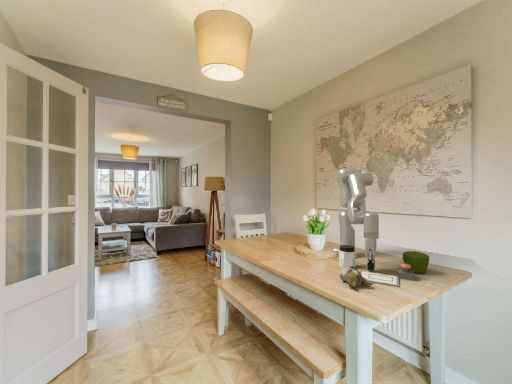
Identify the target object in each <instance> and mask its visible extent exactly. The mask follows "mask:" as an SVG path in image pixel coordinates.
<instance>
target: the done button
mask: <svg viewBox="0 0 512 384" xmlns="http://www.w3.org/2000/svg"><path fill="white" fill-rule="evenodd" d="M400 269H404V272H407V273H408V269H411V265H410V264H404V262H402V263H400Z"/></svg>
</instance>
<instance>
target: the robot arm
mask: <svg viewBox="0 0 512 384" xmlns="http://www.w3.org/2000/svg"><path fill="white" fill-rule="evenodd" d="M336 180H337V184H338V187H339V199H340V200H339V202H340V206H341V207H342V208H344V209H342V210H341V211H339V212H338V220H339V221H338V222H339V246H340V245H351V246H354V247H355V248H356V230H355V228H354V227H353V225H363V238H364V239H365V242H364V257H367V263H366V264H367V271H368V270H373V271H374V270H375V268H376V260H375V259H376V253H377V240H378V239H379V238H380V236H379V235H380V231H379V229H380V227H379V226H380V223H379V221H380V220H379V219H380V218H379V217H380V216H379V214H378V213H376V212H373V211H370V210H369V211H366V197H367V196H368V192H367V189H366V187H369V186H372V185H373V183H374V177H373V174H372V173H371V172H369V171H368V170H367V169H365V168H361V167H345V168H340V169H338V171H337V173H336ZM345 208H347V209H345ZM339 250H340V248H333V252H334V251H335V253H337V256H338V257H339ZM371 256H373V257H371ZM357 258H358V254H356V253H355V259H357ZM371 258H372V259H371ZM373 262H374V263H373ZM374 272H375V271H374Z"/></svg>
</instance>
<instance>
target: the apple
mask: <svg viewBox="0 0 512 384" xmlns="http://www.w3.org/2000/svg"><path fill="white" fill-rule="evenodd" d="M402 260H403V262H402V263H404V264H410V265H411V269H408V270H411V271H414V274H422V273H425V272H427V271H428V267H429V263H430V256H429V255H428V254H427V253H425V252H421V251H416V250H414V251H413V250H407V251H404V252H403V253H402Z"/></svg>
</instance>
